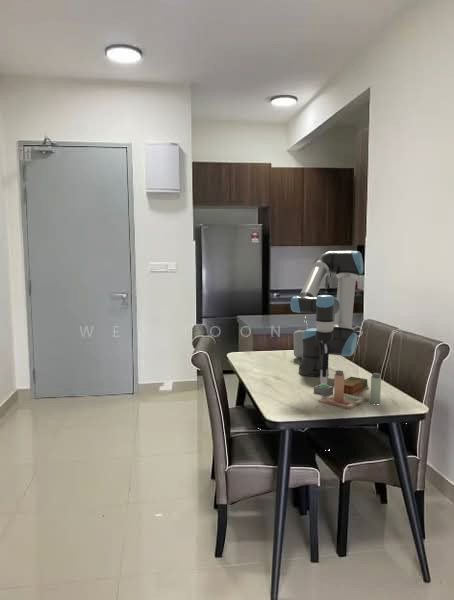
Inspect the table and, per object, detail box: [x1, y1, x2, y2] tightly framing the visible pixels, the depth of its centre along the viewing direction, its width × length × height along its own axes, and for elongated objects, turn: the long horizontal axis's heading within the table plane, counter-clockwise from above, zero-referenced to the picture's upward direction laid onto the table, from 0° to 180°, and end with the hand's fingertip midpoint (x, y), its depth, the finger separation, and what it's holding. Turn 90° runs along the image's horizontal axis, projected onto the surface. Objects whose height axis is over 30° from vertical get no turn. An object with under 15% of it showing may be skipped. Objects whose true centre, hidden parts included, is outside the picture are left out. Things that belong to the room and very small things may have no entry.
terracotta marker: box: [333, 369, 345, 403], centre depth 187 cm, size 4×4×12 cm
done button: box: [319, 383, 328, 389], centre depth 203 cm, size 3×3×2 cm
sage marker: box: [369, 372, 382, 406], centre depth 187 cm, size 4×4×12 cm
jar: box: [292, 315, 314, 359], centre depth 270 cm, size 19×15×25 cm
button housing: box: [313, 384, 334, 396], centre depth 203 cm, size 6×6×2 cm
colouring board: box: [318, 393, 370, 410], centre depth 190 cm, size 16×14×1 cm
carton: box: [344, 376, 369, 396], centre depth 207 cm, size 8×16×4 cm, turn 140°
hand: (323, 383), depth 203 cm, fingers closed
